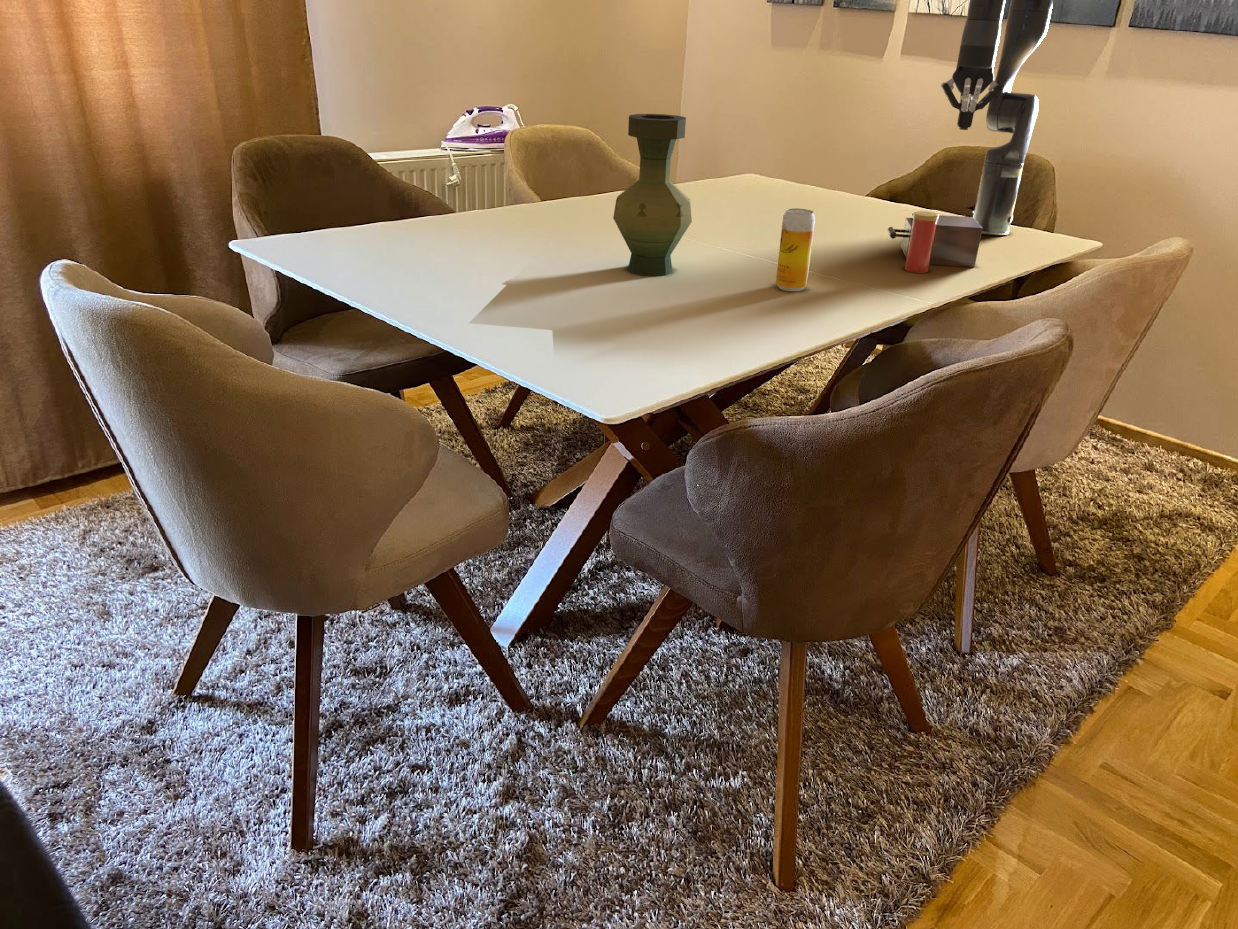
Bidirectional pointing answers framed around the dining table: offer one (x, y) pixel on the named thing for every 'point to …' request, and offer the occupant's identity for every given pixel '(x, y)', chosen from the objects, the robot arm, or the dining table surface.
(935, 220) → the tea tin
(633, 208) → the vase
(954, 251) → the cabinet
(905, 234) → the drawer
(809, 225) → the beer can
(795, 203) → the dining table surface
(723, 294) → the dining table surface
